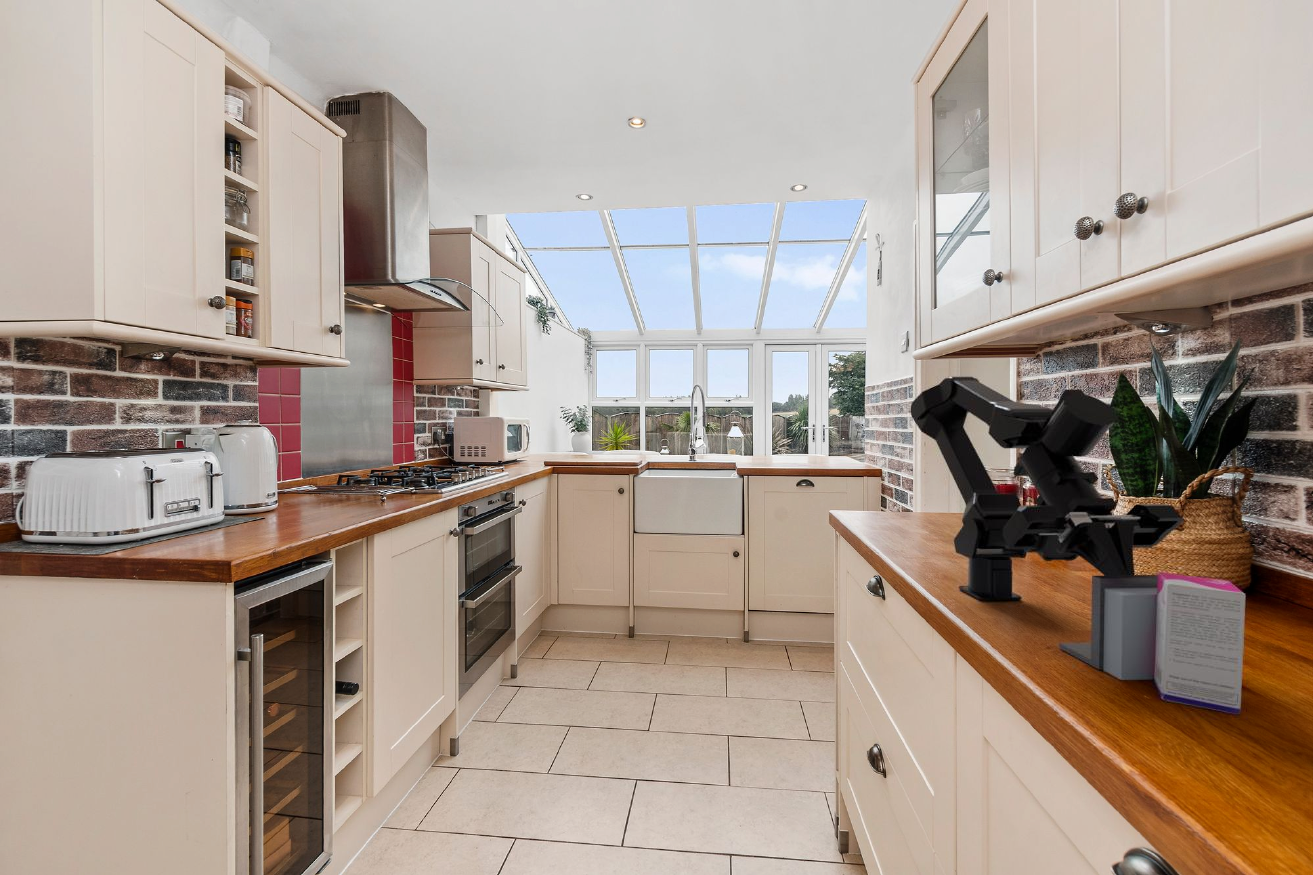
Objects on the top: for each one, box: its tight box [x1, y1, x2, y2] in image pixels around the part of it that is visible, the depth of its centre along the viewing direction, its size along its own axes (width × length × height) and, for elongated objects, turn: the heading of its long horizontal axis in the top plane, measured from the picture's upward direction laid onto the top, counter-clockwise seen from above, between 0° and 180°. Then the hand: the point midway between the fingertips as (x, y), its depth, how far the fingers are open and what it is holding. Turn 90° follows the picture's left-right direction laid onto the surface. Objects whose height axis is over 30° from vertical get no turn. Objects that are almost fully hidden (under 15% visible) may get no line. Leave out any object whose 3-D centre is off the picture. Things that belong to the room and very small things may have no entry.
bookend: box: [1058, 574, 1158, 671], centre depth 68 cm, size 6×9×10 cm
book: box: [1103, 588, 1157, 681], centre depth 64 cm, size 2×8×9 cm, turn 92°
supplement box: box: [1152, 572, 1246, 715], centre depth 59 cm, size 6×6×12 cm
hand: (1129, 588), depth 66 cm, fingers closed, pressing on bookend
